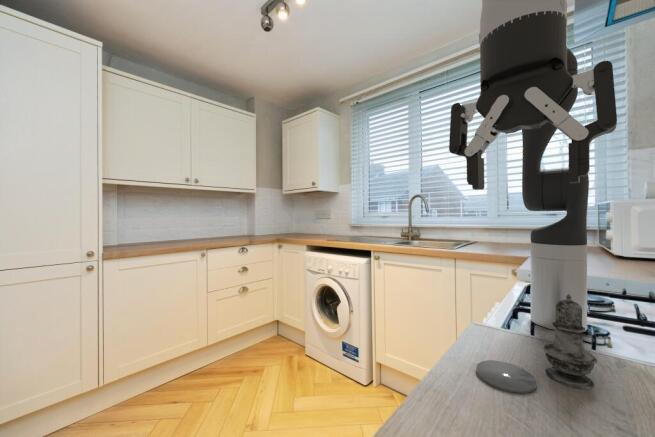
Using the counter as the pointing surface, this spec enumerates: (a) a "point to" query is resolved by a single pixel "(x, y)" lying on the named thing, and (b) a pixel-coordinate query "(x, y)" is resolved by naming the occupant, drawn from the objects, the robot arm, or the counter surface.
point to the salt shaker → (569, 348)
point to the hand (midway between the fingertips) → (521, 186)
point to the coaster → (506, 376)
